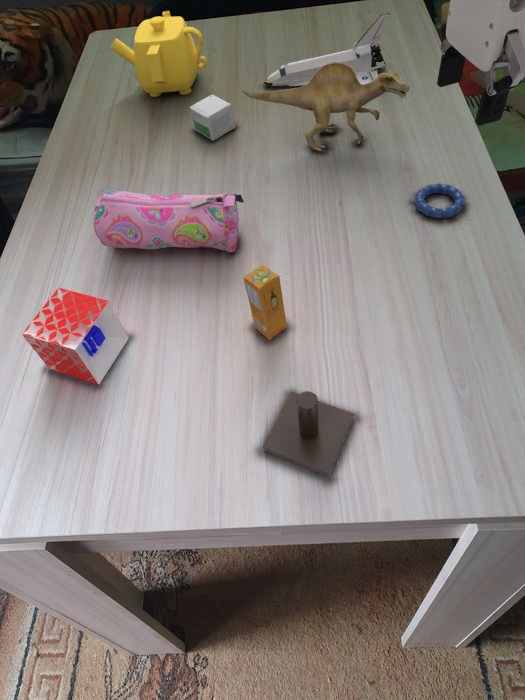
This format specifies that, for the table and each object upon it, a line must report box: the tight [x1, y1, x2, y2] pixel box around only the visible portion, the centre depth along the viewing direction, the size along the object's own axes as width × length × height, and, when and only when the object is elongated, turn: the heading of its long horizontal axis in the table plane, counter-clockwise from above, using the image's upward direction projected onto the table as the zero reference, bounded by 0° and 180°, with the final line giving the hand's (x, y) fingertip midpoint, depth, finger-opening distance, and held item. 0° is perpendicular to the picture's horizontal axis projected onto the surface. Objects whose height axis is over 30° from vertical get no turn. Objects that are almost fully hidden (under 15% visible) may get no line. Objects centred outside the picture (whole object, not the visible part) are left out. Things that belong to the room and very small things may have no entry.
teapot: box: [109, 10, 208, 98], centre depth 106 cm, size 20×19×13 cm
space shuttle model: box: [263, 12, 391, 89], centre depth 102 cm, size 16×25×10 cm, turn 96°
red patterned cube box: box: [21, 287, 130, 386], centre depth 68 cm, size 8×8×8 cm
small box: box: [189, 94, 236, 142], centre depth 97 cm, size 6×6×5 cm
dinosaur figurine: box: [241, 62, 410, 153], centre depth 88 cm, size 8×26×13 cm, turn 89°
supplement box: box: [243, 264, 288, 341], centre depth 66 cm, size 3×3×10 cm
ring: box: [414, 182, 466, 219], centre depth 80 cm, size 7×7×1 cm
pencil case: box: [93, 189, 244, 253], centre depth 79 cm, size 21×9×9 cm, turn 82°
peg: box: [262, 390, 355, 478], centre depth 58 cm, size 8×8×8 cm
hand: (467, 102), depth 66 cm, fingers open, 9 cm apart
